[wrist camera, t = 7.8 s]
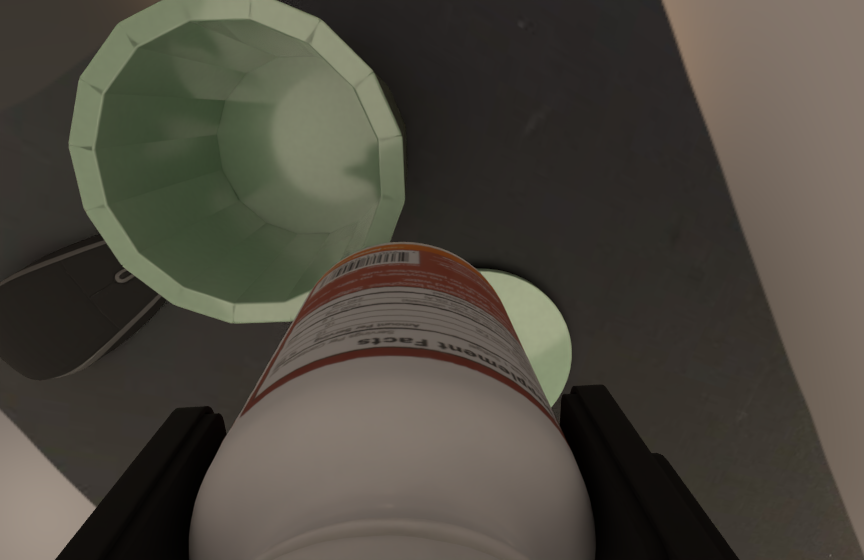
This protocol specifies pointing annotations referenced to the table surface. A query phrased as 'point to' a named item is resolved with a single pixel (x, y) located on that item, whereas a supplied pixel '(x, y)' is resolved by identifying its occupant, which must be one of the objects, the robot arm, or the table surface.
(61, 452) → the table surface
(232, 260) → the pot
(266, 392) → the pill bottle
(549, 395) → the lid
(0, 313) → the computer mouse
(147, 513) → the robot arm
